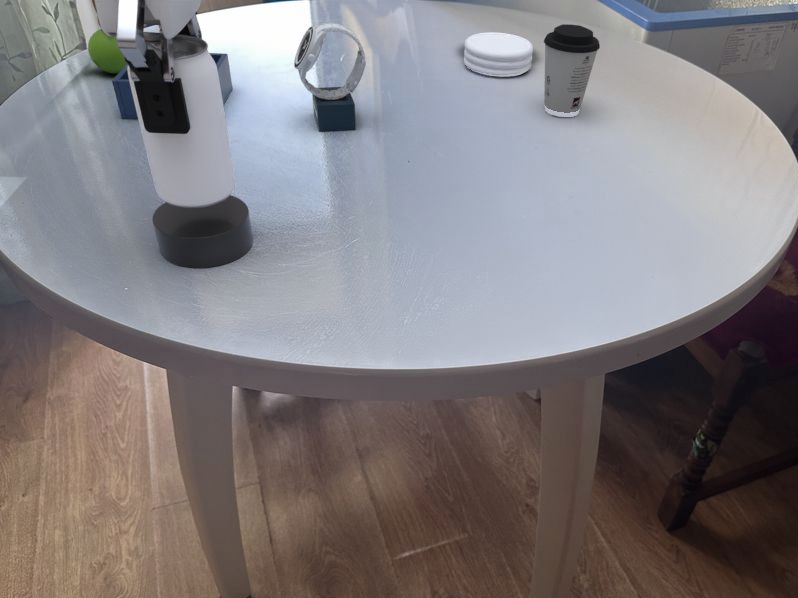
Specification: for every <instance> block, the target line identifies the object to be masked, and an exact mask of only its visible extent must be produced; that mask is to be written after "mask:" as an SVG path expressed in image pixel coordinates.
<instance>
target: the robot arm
mask: <svg viewBox="0 0 798 598" xmlns="http://www.w3.org/2000/svg"><path fill="white" fill-rule="evenodd" d="M94 1H95V5H96V10H97V13H96V15H97V14H98V15H97V16H98V18H99V22H100V26H101V28H100V29H102V30H103V32H104V33H105V34H106V35H108V36H110V37H116V36H117V45H118V48H119V49H120V51H121V52H122V53H123V55H124V56H125V61H126V63H128V66H129V69H130V76H131V79H132V80H133V81H134V85H135V89H136V94H137V98H138V102H139V106H140V110H141V115H142V119H143V123H144V127H145V130H146V131H147V132H149V133H169V134H187V133H188V132H189V130H190V122H189V117H188V112H187V106H186V101H185V96H184V91H183V86H182V81H181V78H175V65H174V52H173V37H175V36H176V35H177V34H179V35H188V36H194V37H197V38H200V39H202V40H203V34H202V30H201V27H200V23H199V20H198V17H197V15H198V10H199V8H200V7H201V4H202V0H94ZM145 25H146V26H147V25H149V26H158V29H159V30H158V31H159V32H154V31H153V32H152V31H144V29H145ZM100 26H99V27H100ZM147 43H150V44H160V48H161V59H160V58H159V56H158V55H157V54H156V52H155V51H154V50H153V49H148V48H147Z"/></svg>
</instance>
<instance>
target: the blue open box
mask: <svg viewBox="0 0 798 598" xmlns="http://www.w3.org/2000/svg"><path fill="white" fill-rule="evenodd" d="M209 54H210V55H211V57H212V58H213V60H214V61H215V63H216V66H217V71H218V76H219V82H220V88H221V94H222V100H223V106H224V107H225V104H226V103H227V100H228V99H229V97H230V95H231V93H232V91H233V82H232V81H233V80H232V73H231V68H230V61H229V55H228V53H221V52H219V53H218V52H209ZM127 67H128V63H127V64H126V66H125V67H124V68H123V69H122V70H121V71H120V72H119V73H118V74H116V75H115V77H114V78H113V79H112V80H111V83H112V87H113V90H114V94H115V98H116V102H117V106H118V109H119V114H120V118H121V119H123V120H138V116H137V112H136V107H135V103H134V99H133V95H132V90H131V86H130V82H129V77H128V71H127Z"/></svg>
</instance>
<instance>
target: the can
mask: <svg viewBox="0 0 798 598" xmlns="http://www.w3.org/2000/svg"><path fill="white" fill-rule="evenodd" d="M147 48H148V49H153V50H154V51H155V52H156V54H157V55H158V56H159V58H160V59H161V48H160V44H150V43H147ZM208 49H209V44H208V43H207V41H205V40H204V39H203V38H202V39H200V38H197V37H194V36H188V35H179V34H177V35H176V36H175V37H173V52H174V65H175V78H181V81H182V86H183V91H184V96H185V101H186V106H187V112H188V117H189V122H190V130H189V132H188V133H187V134H169V133H149V132H147V131H146V130H145V127H144V123H143V119H142V115H141V110H140V106H139V102H138V98H137V94H136V89H135V85H134V81H133V80H132V79H131V76H130V69H129V66H128V67H127V71H128V77H129V82H130V86H131V90H132V95H133V99H134V103H135V107H136V112H137V116H138V119H137V120H138V124H139V128H140V132H141V136H142V140H143V141H142V142H143V145H144V149H145V153H146V157H147V161H148V165H149V169H150V173H151V178H152V183H153V185H154V189H155V192H156V195H157V196H158V197H159V198H160V199H161V200H162V201H163V202H164V203H165V202H166V203H168V204H170V205H173V206H176V207H181V208H203V207H208V206H212V205H215V204H217V203H220V202H222V201H224V200H225V199H227V198H228V197H229V196H230V195H231V196H232V194H233V192H234V191H235V189H236V178H235V170H234V163H233V157H232V151H231V145H230V137H229V132H228V131H229V130H228V125H227V119H226V113H225V105H224V106H223V100H222V94H221V88H220V82H219V76H218V71H217V66H216V63H215V61H214V60H213V58H212V57H211V55H210V54H209V53H210V52H209V50H208Z"/></svg>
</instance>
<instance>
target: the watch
mask: <svg viewBox="0 0 798 598" xmlns="http://www.w3.org/2000/svg"><path fill="white" fill-rule="evenodd" d="M331 32H332V33H341V34H343V35H346V36H347V37H349V38H350V39H352V40H353V41H354V42H355V44H356V45H357V46H358V50H357V56H356V59H355V62H354V65H353V68H352V70H351V72H350V74H349V76H348V77H347V78H346V82H345V84H344V85H343V86H327V87H325V86H324V87H316V86H314V85H313V84H312V83H311V82H309V80H308V79H307V78H306V77H307V72H309V71H310V70H311V69H312V68H313V67H314V65H315V64H316V61H317V60H318V58H319V56H320V53H321V51H322V47H323V43H324V39H325V38H326V36H327V34H328V33H331ZM365 55H366V54H365V51H364V48H363V45H362V43H361V41H360V39H359V38H358V36H357V35H356V34H355V32H353V31H352V30H351V28H348V27H347V26H345V25H343V24H341V23H338V22H331V21H329V22H322V23H318V24H317V25H316V26H312V25H311V26H309V27H308V28H307V30H306V31H305V33H304V34H303V37H302V38H301V40H300V42H299V45H298V48H297V50H296V53H295V57H294V61H293V62H294V63H293V64H294V65H293V67H294V68H295V69H296V70H297V71H298V75H299V78H300V81H301V82H302V84H303V86H304V87H305V89H306V90H307V91H309V93H310V94H312V96H311V97H312V109H313V110H312V111H313V115H314V119H315V123H316V126H317V130H318V132H319V133H320V132H321V133H322V132H340V131H342V132H343V131H355V130H356V129H357V127H356V104H355V101H354V98H353V96H352V93H354V91H355V90H356V88H357V87H358V85H359V83H360V81H361V80H362V77H363V75H364V72H365V69H366V64H367V62H366V61H367V60H366V56H365Z"/></svg>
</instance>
